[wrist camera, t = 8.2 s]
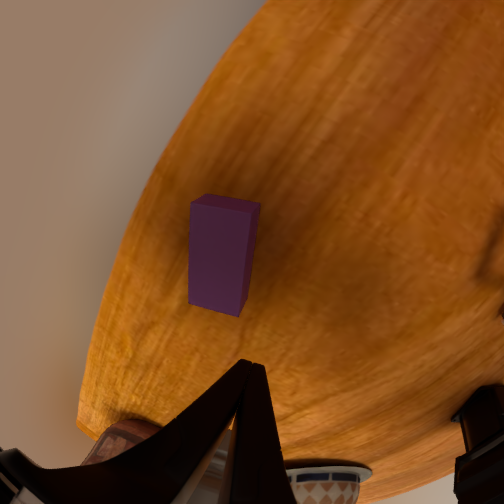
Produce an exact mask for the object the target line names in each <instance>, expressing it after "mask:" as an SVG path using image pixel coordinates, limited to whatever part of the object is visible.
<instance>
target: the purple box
mask: <svg viewBox="0 0 504 504" xmlns="http://www.w3.org/2000/svg"><path fill="white" fill-rule="evenodd" d="M259 211H260V203H257V202H251V201H246V200H241V199H235V198H229V197H223V196H218V195H212V194H204V195H203V196H201V197H199V198H198V199H196V200H194V201H192V202H191V206H190V230H189V277H188V300H189V304H192V305H196V306H199V307H203V308H206V309H210V310H214V311H217V312H221V313H225V314H228V315H232V316H236V317H239V315H240V313H241V311H242V309H243V307H244V305H245V302H246V300H247V297H248V290H249V283H250V276H251V269H252V261H253V254H254V247H255V240H256V233H257V226H258V219H259Z"/></svg>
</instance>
